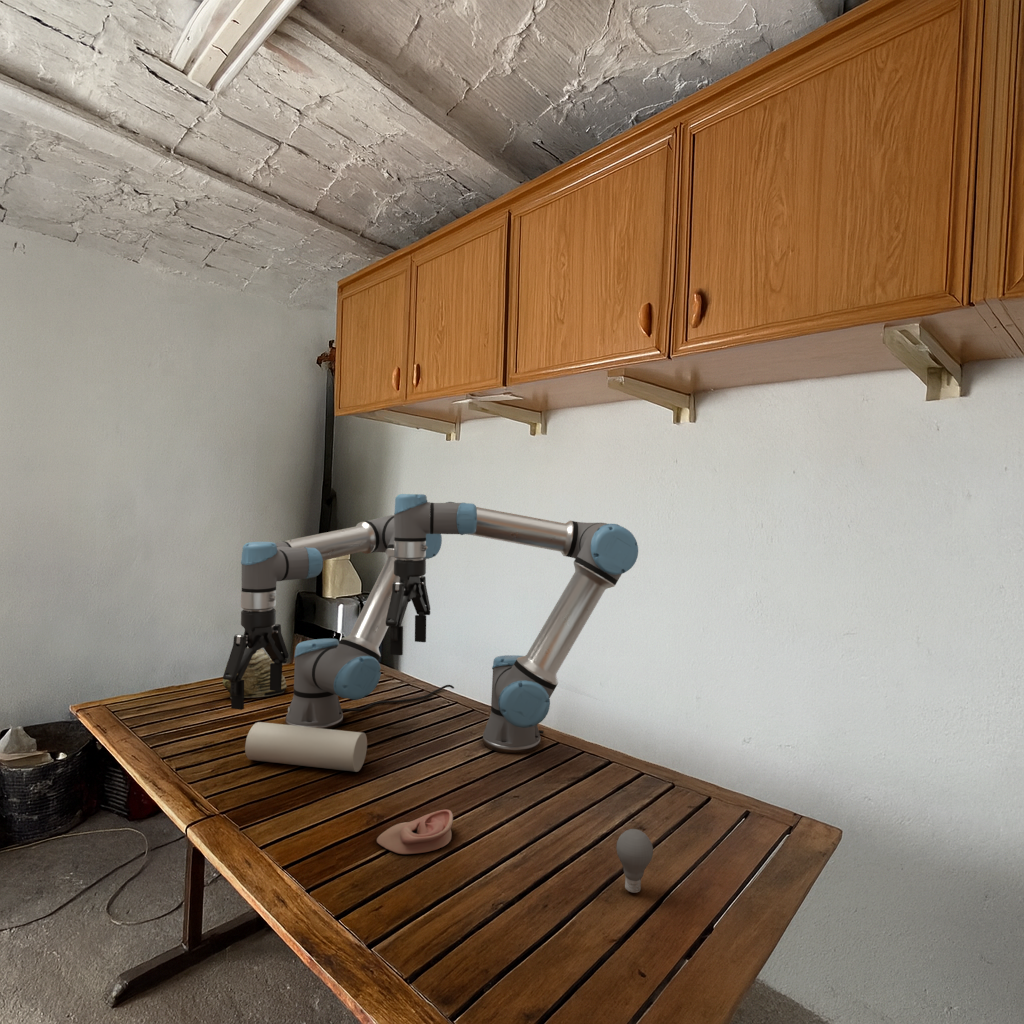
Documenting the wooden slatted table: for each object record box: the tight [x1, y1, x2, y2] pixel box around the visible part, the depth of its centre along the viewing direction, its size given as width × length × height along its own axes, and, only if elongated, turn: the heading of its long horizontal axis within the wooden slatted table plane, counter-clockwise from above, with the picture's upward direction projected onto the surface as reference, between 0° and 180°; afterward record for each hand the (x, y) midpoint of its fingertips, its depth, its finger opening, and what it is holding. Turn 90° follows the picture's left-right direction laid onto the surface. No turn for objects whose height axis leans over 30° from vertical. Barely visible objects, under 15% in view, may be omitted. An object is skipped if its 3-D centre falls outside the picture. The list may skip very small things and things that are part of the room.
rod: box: [244, 721, 368, 773], centre depth 149 cm, size 26×9×9 cm, turn 81°
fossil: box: [222, 648, 288, 699], centre depth 198 cm, size 9×18×15 cm, turn 132°
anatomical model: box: [376, 809, 454, 855], centre depth 119 cm, size 13×4×12 cm
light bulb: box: [615, 828, 654, 894], centre depth 106 cm, size 6×6×10 cm
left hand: (257, 699), depth 148 cm, fingers open, 13 cm apart
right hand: (408, 648), depth 151 cm, fingers open, 13 cm apart
